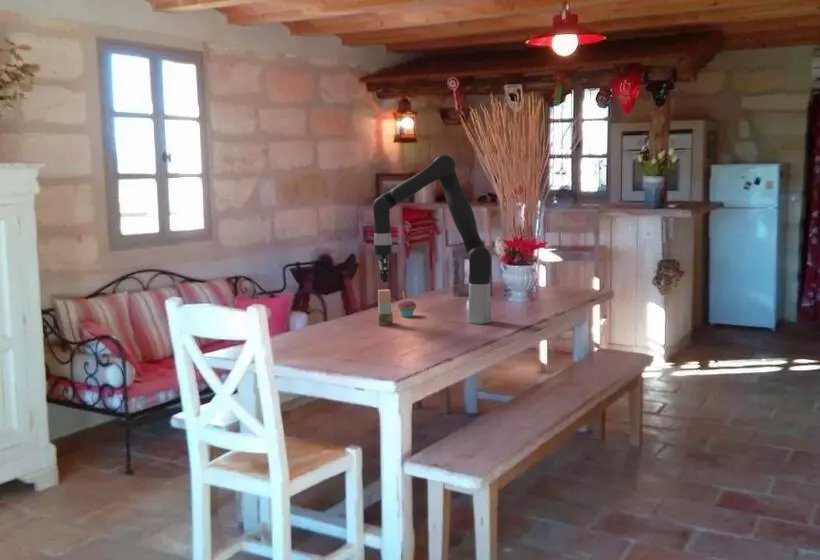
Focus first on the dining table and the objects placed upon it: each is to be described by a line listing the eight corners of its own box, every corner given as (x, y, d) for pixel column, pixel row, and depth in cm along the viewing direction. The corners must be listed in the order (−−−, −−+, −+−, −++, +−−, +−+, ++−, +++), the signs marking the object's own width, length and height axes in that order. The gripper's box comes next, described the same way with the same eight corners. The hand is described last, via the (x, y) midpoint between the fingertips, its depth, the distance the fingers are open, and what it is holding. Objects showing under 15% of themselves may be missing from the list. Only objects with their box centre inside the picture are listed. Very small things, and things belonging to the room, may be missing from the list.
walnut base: (391, 322, 378) (391, 311, 378) (392, 325, 373) (392, 314, 372) (378, 323, 378) (377, 312, 377) (378, 325, 372) (378, 314, 371)
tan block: (389, 300, 377) (389, 289, 376) (390, 302, 372) (390, 291, 371) (378, 301, 376) (378, 289, 375) (379, 302, 371) (379, 291, 370)
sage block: (389, 311, 377) (389, 300, 377) (391, 313, 372) (391, 302, 372) (378, 312, 377) (378, 301, 376) (379, 314, 372) (379, 302, 371)
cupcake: (395, 317, 392) (394, 291, 390) (402, 314, 400) (401, 288, 398) (412, 318, 389) (412, 291, 387) (419, 314, 397) (419, 289, 395)
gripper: (393, 244, 364) (394, 282, 366) (389, 241, 378) (391, 278, 380) (375, 245, 363) (377, 283, 365) (372, 242, 377) (374, 279, 379)
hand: (384, 280), depth 372 cm, fingers open, 8 cm apart
